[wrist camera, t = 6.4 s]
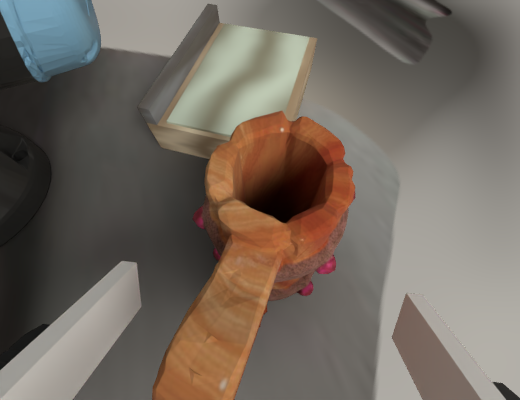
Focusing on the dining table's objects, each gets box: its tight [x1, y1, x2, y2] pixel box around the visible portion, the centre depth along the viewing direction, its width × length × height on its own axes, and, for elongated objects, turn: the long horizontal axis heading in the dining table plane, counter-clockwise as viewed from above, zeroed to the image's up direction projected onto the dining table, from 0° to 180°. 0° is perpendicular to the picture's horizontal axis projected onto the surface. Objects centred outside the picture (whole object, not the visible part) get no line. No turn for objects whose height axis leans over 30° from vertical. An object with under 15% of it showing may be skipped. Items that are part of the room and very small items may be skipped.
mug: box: [152, 111, 355, 400], centre depth 15 cm, size 15×8×15 cm, turn 159°
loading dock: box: [137, 4, 317, 159], centre depth 28 cm, size 14×18×6 cm
